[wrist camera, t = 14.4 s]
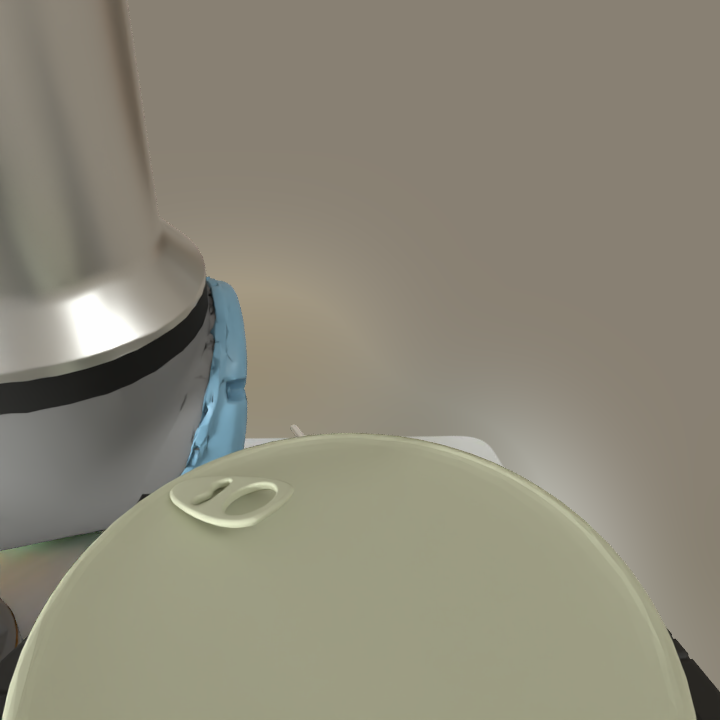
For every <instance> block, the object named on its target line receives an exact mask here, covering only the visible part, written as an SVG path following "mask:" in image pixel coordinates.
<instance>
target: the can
mask: <svg viewBox="0 0 720 720" xmlns="http://www.w3.org/2000/svg"><path fill="white" fill-rule="evenodd" d="M2 720H696V714H695V710H694V706H693V702H692V698H691V694H690V690H689V686H688V682H687V678H686V675H685V673H684V670H683V668H682V665H681V662H680V660H679V657H678V654H677V652H676V649H675V646H674V644H673V641H672V639H671V637H670V635H669V633H668V631H667V629H666V627H665V625H664V623H663V621H662V619H661V617H660V615H659V614H658V611H657V610H656V608H655V606H654V604H653V603H652V601H651V599H650V597H649V596H648V594H647V593H646V591H645V590H644V588H643V587H642V585H641V584H640V582H639V581H638V580H637V578H636V577H635V575H634V574H633V572H632V571H631V570H630V569H629V567H628V566H627V565H626V564H625V562H624V561H623V560H622V559H621V557H620V556H619V555H618V554H617V553H616V552H615V550H614V549H613V548H612V547H611V546H610V545H609V544H608V543H607V542H606V541H605V540H604V539H603V538H602V537H601V536H600V535H599V534H598V533H597V532H596V531H595V530H594V529H593V528H592V527H591V526H590V525H589V524H588V523H587V522H585V520H584V519H582V518H581V517H580V516H579V515H577V514H576V513H575V512H573V511H572V510H571V509H570V508H569V507H567V506H566V505H565V504H563V503H562V502H561V501H560V500H558V499H557V498H555V497H554V496H552V495H551V494H549V493H548V492H546V491H545V490H543V489H542V488H540V487H539V486H537V485H535V484H534V483H532V482H530V481H529V480H527V479H526V478H524V477H522V476H520V475H518V474H516V473H514V472H512V471H510V470H508V469H506V468H504V467H502V466H500V465H498V464H496V463H493V462H491V461H488V460H486V459H483V458H481V457H478V456H476V455H473V454H470V453H467V452H465V451H461V450H458V449H455V448H452V447H448V446H445V445H441V444H437V443H433V442H428V441H424V440H420V439H414V438H407V437H401V436H393V435H383V434H367V433H333V434H320V435H307V436H301V437H294V438H289V439H283V440H278V441H272V442H269V443H265V444H261V445H257V446H253V447H249V448H246V449H243V450H240V451H237V452H234V453H231V454H228V455H225V456H223V457H220V458H218V459H215V460H213V461H210V462H208V463H206V464H203V465H201V466H199V467H197V468H195V469H193V470H191V471H189V472H187V473H185V474H183V475H181V476H179V477H178V478H176V479H174V480H172V481H171V482H169V483H167V484H165V485H164V486H162V487H160V488H159V489H157V490H156V491H154V492H153V493H151V494H150V495H148V496H147V497H146V498H144V499H143V500H141V501H140V502H138V503H137V504H136V505H135V506H133V507H132V508H131V509H130V510H128V511H127V512H126V513H125V514H123V515H122V516H121V517H120V518H118V519H117V520H116V521H115V522H113V523H112V524H111V525H110V526H109V527H108V528H107V529H106V530H105V531H104V532H103V533H102V534H101V535H100V536H99V537H98V538H97V539H96V540H95V541H94V542H93V543H92V544H91V545H90V546H89V547H88V548H87V549H86V551H85V552H84V553H83V554H82V555H81V556H80V557H79V559H78V560H77V561H76V562H75V563H74V565H73V566H72V567H71V568H70V569H69V570H68V572H67V573H66V575H65V576H64V577H63V579H62V580H61V582H60V583H59V585H58V586H57V587H56V589H55V590H54V592H53V593H52V594H51V596H50V597H49V599H48V601H47V603H46V604H45V606H44V608H43V610H42V611H41V613H40V615H39V617H38V619H37V621H36V622H35V624H34V626H33V628H32V630H31V632H30V634H29V636H28V639H27V641H26V643H25V645H24V647H23V649H22V651H21V654H20V657H19V660H18V663H17V666H16V669H15V671H14V674H13V677H12V680H11V683H10V686H9V689H8V694H7V698H6V703H5V707H4V712H3V716H2Z"/></svg>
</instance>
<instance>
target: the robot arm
mask: <svg viewBox="0 0 720 720" xmlns="http://www.w3.org/2000/svg"><path fill="white" fill-rule="evenodd" d="M246 375H247V351H246V339H245V331H244V323H243V317H242V312H241V308H240V304H239V301H238V297H237V295H236V293H235V291H234V290H233V288H232V287H231V286H230V285H229V284H228V283H226V282H223V281H217V280H215V279H211V278H210V277H206V272H205V265H204V260H203V257H202V255H201V253H200V251H199V250H198V248H197V246H196V245H195V244H194V243H193V242H192V240H190V239H189V238H188V237H187V236H186V235H184V234H183V233H182V232H181V231H179V230H178V229H177V228H175V227H174V226H172V225H171V224H170V223H168V222H167V221H165V220H164V219H163V218H161V217H160V216H159V213H158V206H157V199H156V193H155V186H154V179H153V172H152V165H151V158H150V152H149V145H148V138H147V131H146V125H145V117H144V111H143V105H142V97H141V90H140V84H139V77H138V70H137V63H136V56H135V50H134V42H133V36H132V29H131V22H130V15H129V9H128V2H127V0H0V551H2V550H7V549H12V548H16V547H21V546H26V545H31V544H36V543H40V542H45V541H50V540H55V539H60V538H64V537H69V536H75V535H80V534H85V533H90V532H95V531H100V530H105V529H107V528H108V527H109V526H110V525H111V524H112V523H113V522H115V521H116V520H117V519H118V518H120V517H121V516H122V515H123V514H125V513H126V512H127V511H128V510H130V509H131V508H132V507H133V506H135V505H136V504H137V503H138V502H140V501H141V500H143V499H144V498H146V497H147V496H148V495H150V494H151V493H153V492H154V491H156V490H157V489H159V488H160V487H162V486H164V485H165V484H167V483H169V482H171V481H172V480H174V479H176V478H178V477H179V476H181V475H183V474H185V473H187V472H189V471H191V470H193V469H195V468H197V467H199V466H201V465H203V464H206V463H208V462H210V461H213V460H215V459H218V458H220V457H223V456H225V455H228V454H231V453H234V452H237V451H240V450H243V449H244V442H245V434H246V423H247V398H246V394H245V390H244V387H245V384H246ZM666 629H667V628H666ZM667 631H668V633H669V635H670V637H671V639H672V641H673V644H674V646H675V649H676V652H677V654H678V657H679V660H680V662H681V665H682V668H683V670H684V673H685V675H686V678H687V682H688V686H689V690H690V694H691V698H692V702H693V706H694V710H695V714H696V720H720V692H719V690H718V689H717V688H716V687H715V686H714V684H713V683H712V682H711V681H710V680H709V678H708V677H707V676H706V675H705V674H704V672H703V671H702V670H701V669H700V668H699V666H698V665H697V664H696V663H695V661H694V660H693V659H690V658H689V656H688V653H687V652H686V651H685V649H684V648H683V647H682V646H681V645H680V643H679V642H678V641H677V640H676V639H673V638H672V634H671V633H670V631H669V630H668V629H667ZM27 639H28V637H27V638H26V639H24V640H23V641H22V638H21V635H20V632H19V629H18V626H17V623H16V620H15V617H14V614H13V613H12V611H11V609H10V608H9V607H8V606H7V605H6V604H5V602H4V601H3V600H2V599H1V598H0V720H2V716H3V712H4V707H5V703H6V698H7V694H8V689H9V686H10V683H11V680H12V677H13V674H14V671H15V669H16V666H17V663H18V660H19V657H20V654H21V651H22V649H23V647H24V645H25V643H26V641H27Z"/></svg>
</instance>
